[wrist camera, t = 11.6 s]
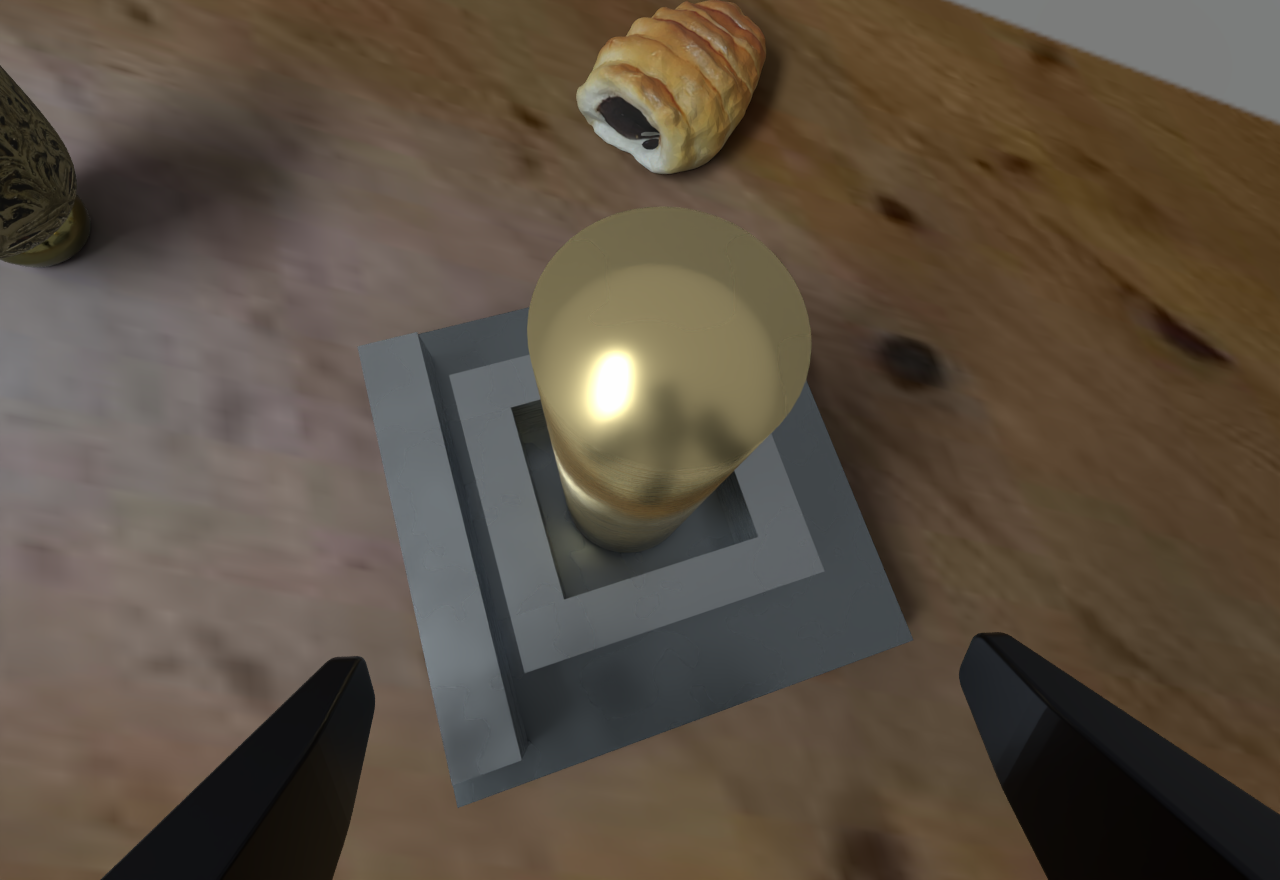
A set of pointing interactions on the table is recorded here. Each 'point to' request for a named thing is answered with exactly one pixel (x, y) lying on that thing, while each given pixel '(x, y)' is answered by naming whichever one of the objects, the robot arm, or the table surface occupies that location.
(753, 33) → the pastry
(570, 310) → the sleeve
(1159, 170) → the table surface
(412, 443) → the jig
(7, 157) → the cup
